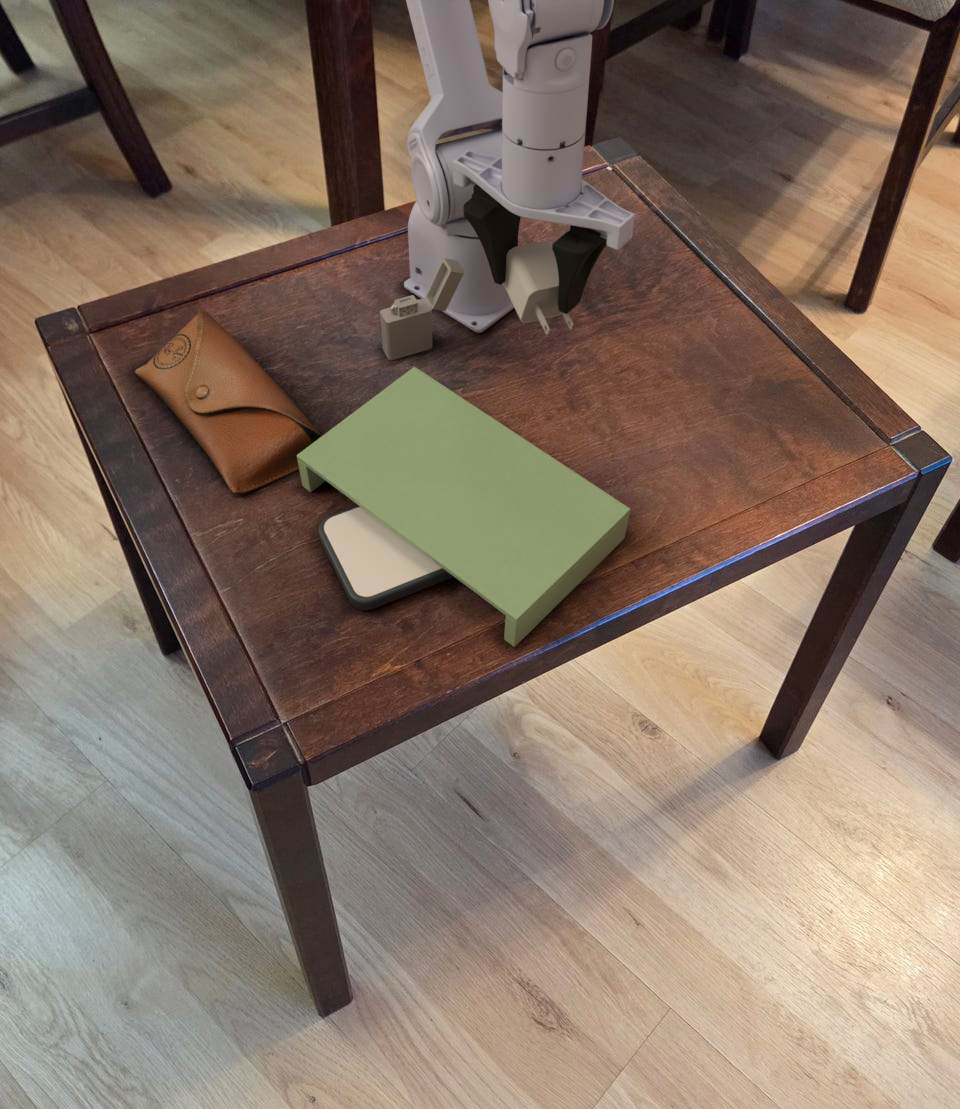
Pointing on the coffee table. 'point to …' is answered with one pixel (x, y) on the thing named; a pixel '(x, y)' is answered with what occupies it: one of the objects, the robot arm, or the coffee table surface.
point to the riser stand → (470, 496)
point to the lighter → (418, 314)
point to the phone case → (374, 559)
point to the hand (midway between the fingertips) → (537, 291)
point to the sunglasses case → (229, 405)
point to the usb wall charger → (534, 283)
